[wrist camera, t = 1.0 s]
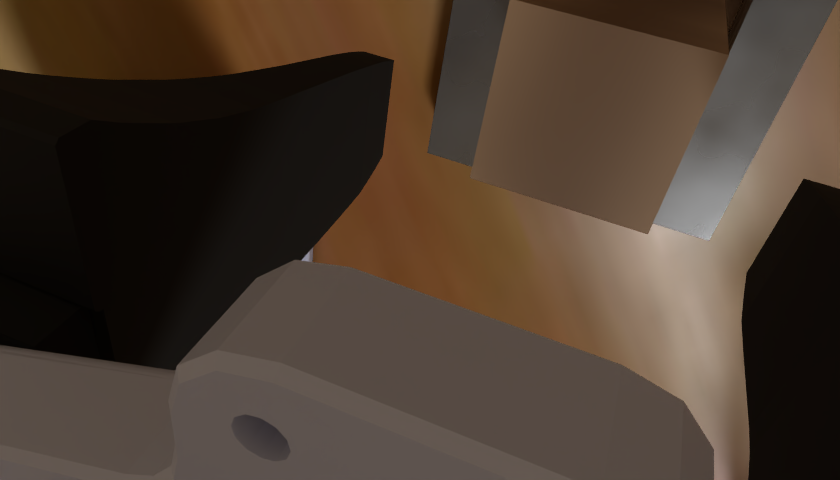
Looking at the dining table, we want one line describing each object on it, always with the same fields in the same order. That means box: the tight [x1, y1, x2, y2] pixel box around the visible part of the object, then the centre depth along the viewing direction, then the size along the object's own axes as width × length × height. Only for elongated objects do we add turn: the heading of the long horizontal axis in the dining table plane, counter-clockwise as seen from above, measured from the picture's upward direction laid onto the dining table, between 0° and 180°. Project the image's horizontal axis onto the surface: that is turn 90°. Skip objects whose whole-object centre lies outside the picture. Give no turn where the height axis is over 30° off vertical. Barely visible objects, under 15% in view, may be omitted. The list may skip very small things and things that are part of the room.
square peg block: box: [470, 0, 729, 234], centre depth 16 cm, size 4×4×7 cm
